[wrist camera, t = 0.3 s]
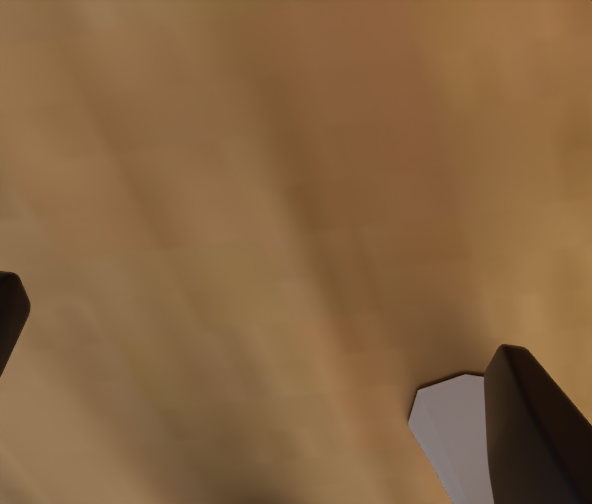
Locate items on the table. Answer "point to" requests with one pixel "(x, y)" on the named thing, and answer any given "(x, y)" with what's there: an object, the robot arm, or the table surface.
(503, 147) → the table surface
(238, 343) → the table surface
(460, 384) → the flask
